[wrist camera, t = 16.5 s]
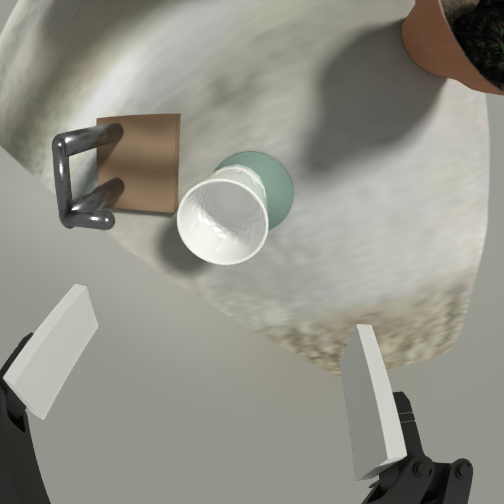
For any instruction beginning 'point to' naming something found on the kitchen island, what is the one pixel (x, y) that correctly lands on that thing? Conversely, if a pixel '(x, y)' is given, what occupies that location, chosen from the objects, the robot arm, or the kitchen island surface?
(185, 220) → the white cup
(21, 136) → the kitchen island surface
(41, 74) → the kitchen island surface
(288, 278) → the kitchen island surface
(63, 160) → the bent wire
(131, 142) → the brown wooden board
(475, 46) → the potted plant
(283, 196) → the end coaster
